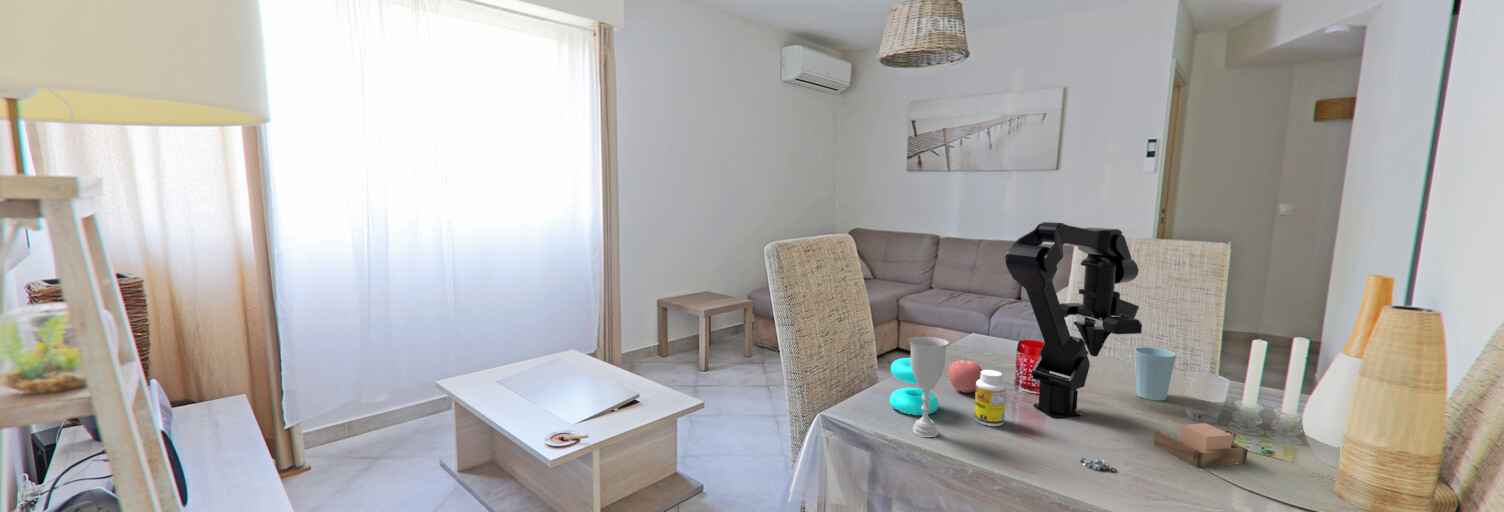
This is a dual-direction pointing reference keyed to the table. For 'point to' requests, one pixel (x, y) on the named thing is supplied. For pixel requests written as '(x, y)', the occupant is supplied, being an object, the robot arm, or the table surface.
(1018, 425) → the table surface
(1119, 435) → the table surface
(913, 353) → the chalice
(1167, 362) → the cup
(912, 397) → the donuts
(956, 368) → the apple
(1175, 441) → the frame
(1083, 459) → the metal chain
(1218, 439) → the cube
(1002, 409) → the supplement bottle
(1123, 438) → the table surface
